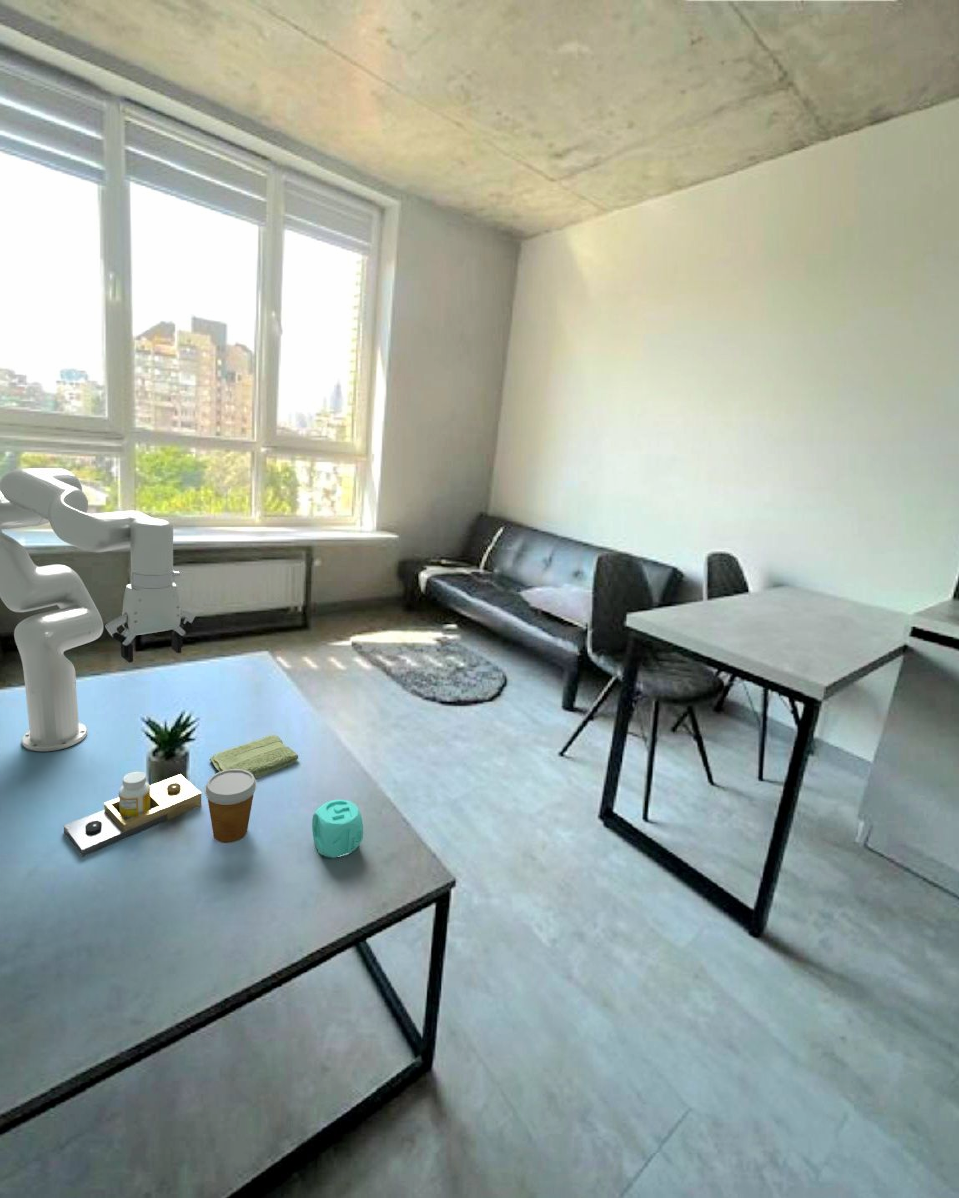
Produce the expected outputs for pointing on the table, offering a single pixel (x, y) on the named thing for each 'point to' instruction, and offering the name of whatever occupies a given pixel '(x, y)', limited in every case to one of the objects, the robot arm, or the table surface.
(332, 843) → the decorative dice
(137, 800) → the supplement bottle
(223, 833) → the disposable coffee cup
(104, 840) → the holed plate
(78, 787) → the table surface
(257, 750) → the washcloth
